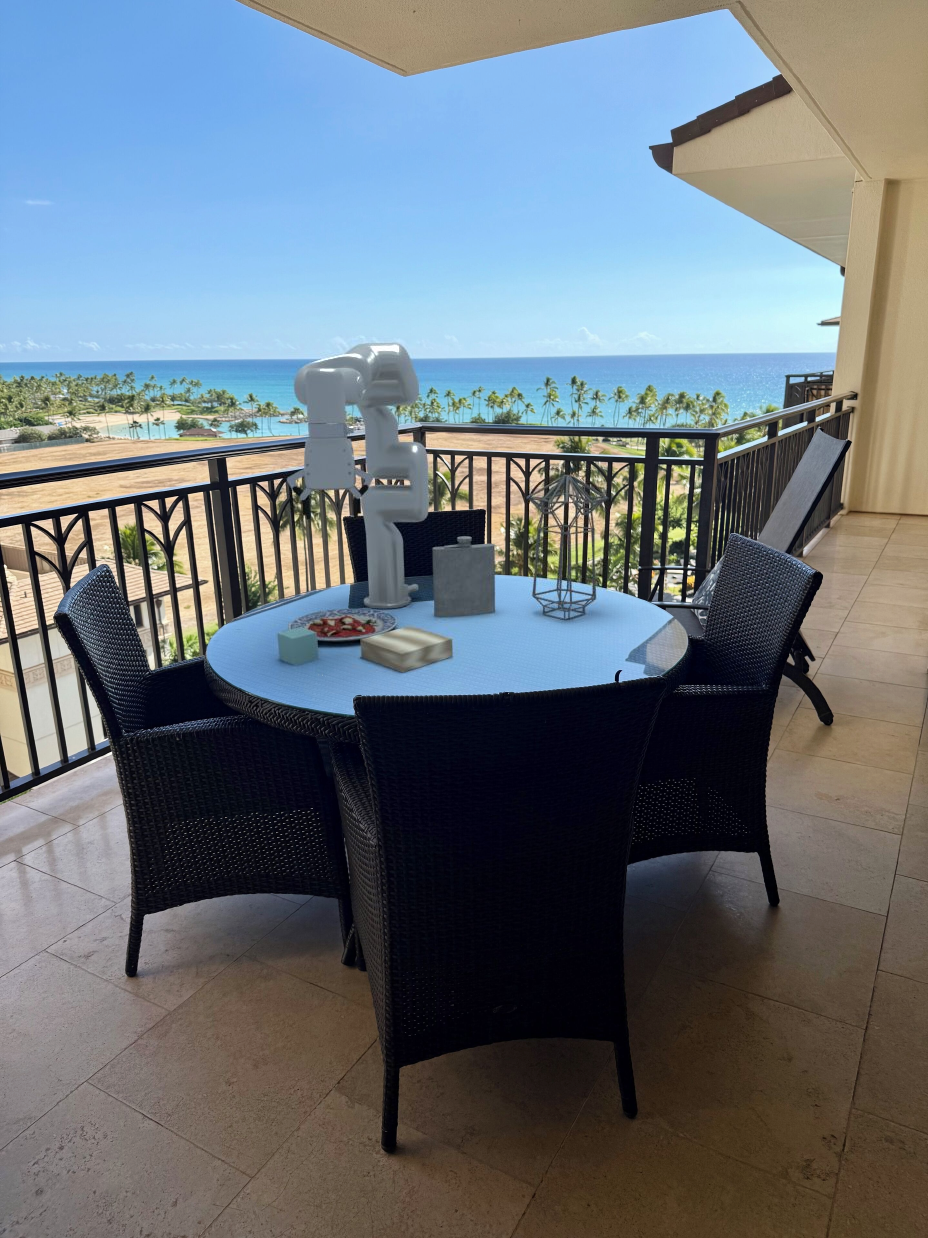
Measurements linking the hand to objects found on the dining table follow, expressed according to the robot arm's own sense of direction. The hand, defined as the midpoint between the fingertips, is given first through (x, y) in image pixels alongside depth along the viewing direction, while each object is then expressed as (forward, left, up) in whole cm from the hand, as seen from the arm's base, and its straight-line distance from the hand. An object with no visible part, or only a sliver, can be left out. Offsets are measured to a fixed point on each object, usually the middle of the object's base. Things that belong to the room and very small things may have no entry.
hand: (332, 517), depth 166 cm
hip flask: (-43, -5, -31) cm, 53 cm away
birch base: (-11, +10, -31) cm, 34 cm away
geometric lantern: (-61, +13, -31) cm, 69 cm away
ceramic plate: (-13, -16, -31) cm, 37 cm away
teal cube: (+6, -6, -31) cm, 32 cm away
